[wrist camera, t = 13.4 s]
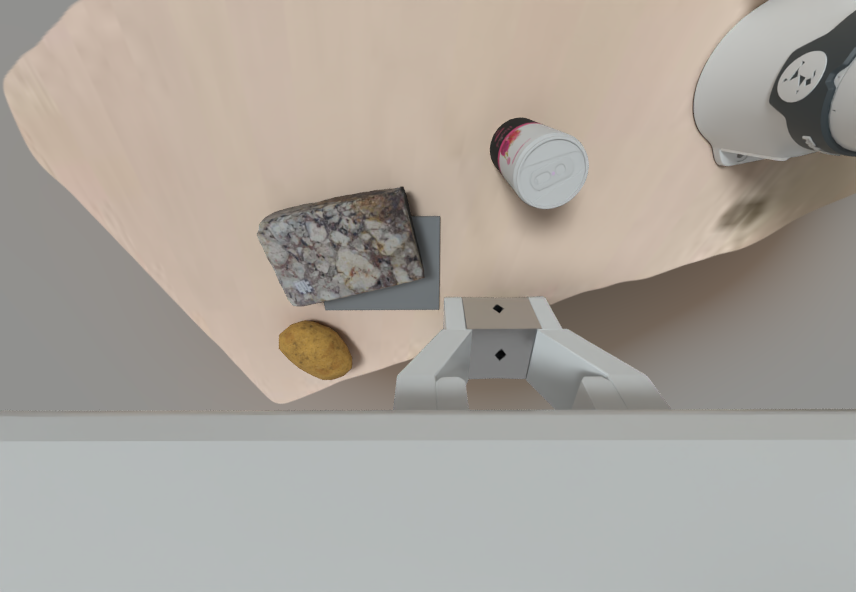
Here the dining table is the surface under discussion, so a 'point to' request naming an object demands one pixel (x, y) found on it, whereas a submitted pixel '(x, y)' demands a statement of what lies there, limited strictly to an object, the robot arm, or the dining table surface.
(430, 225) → the mat
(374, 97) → the dining table surface
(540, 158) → the beverage can
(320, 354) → the potato
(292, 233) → the stone block
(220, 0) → the dining table surface
